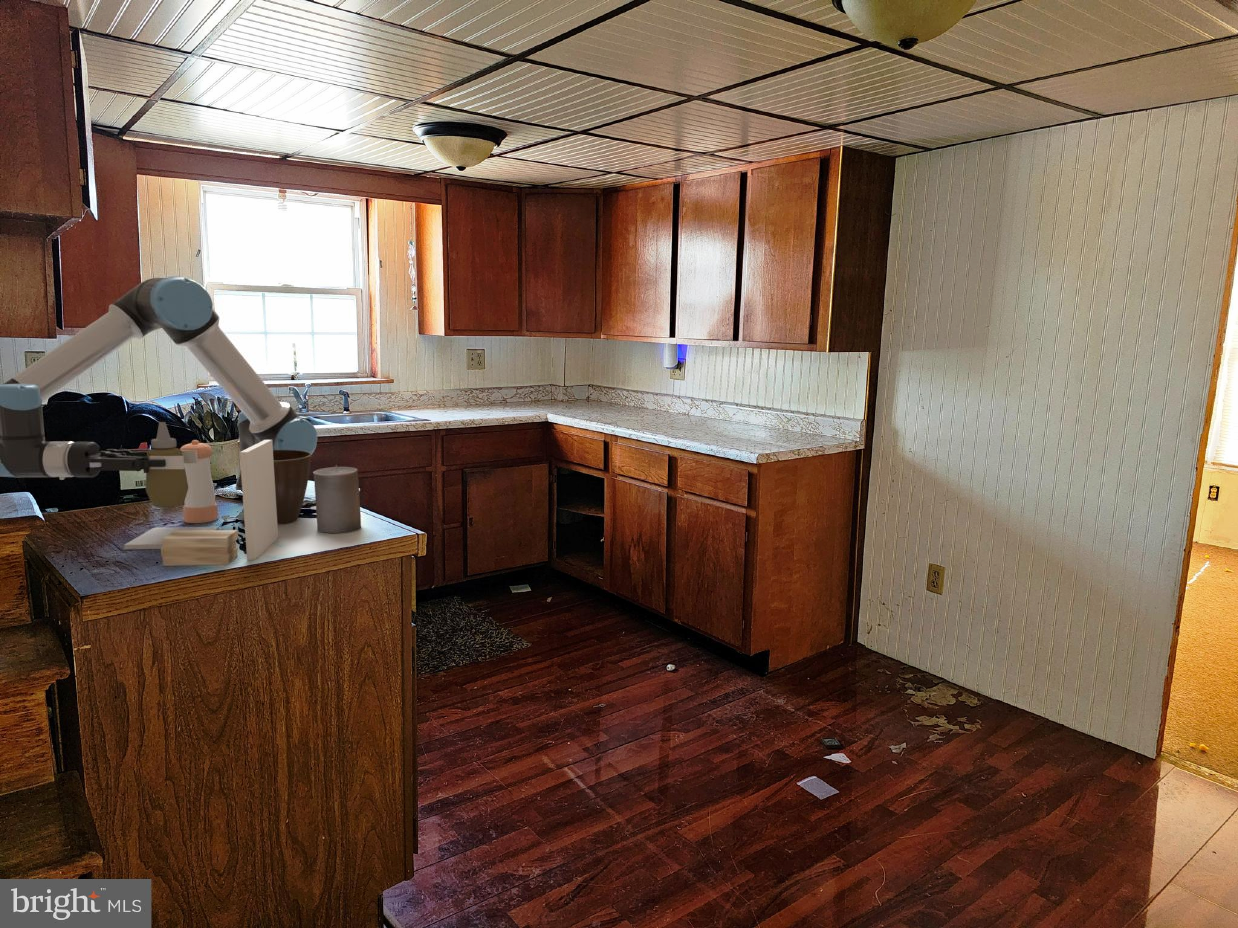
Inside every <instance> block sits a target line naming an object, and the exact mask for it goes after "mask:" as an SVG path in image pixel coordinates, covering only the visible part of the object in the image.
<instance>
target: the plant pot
mask: <svg viewBox="0 0 1238 928" xmlns="http://www.w3.org/2000/svg"><path fill="white" fill-rule="evenodd" d="M273 461H274V477H275V494H276V510H277V525H284V524H285V525H286V524H289V523H294V522H296V521H298V519H299V515H300V513H301V509H302V507H303V503H304V499H305V496H306V492H307V487H308V482H309V477H310V472H311V464H312V463H311V462H312V454H311V453H310V452H307V451H300V450H273Z"/></svg>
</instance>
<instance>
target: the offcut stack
mask: <svg viewBox="0 0 1238 928" xmlns="http://www.w3.org/2000/svg"><path fill="white" fill-rule="evenodd" d="M162 540H163V547H162V548H161V549H160V554H161V555H160V556H161V558H162V565H163V567H164V566H168V567H169V566H171V567H172V566H214V565H215V566H217V565H219V566H220V565H229V564H230V563H231V562H233V560H235V559H236V558H237V557H239V552H238V547H237V543H236V542H237V540H239V531H238V529H231V530H230V529H220V530H176V531H174V532H173V533H171V534H169V535H168V536H166V537H164V538H162Z"/></svg>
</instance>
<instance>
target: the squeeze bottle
mask: <svg viewBox="0 0 1238 928" xmlns="http://www.w3.org/2000/svg"><path fill="white" fill-rule="evenodd" d="M150 443H151V448H152V449H151V448H150V449H151V450H149V451H148V452H147V457H148V459H149V456H183V455H182V451H181V450H180V448H177V439H176V438H174V437H171V435H170V433H169V430H168V426H167V422H166V421H159V422H158V428H157V434H156V438H152V439H151V440H150ZM184 467H185V466H184ZM188 488H189V487H188V482H187V477H186V471H185V469H150V467H149V473H145V492H146V494H147V496H148V498H149V500H150V502H151V505H152V507H153V508H154V507H155V508H161V509H162V508H163V509H167V508H174V507H175V508H176V507H178V506H179V507H180V506H181V505H185V502H184V501H185V498H186V495H187V491H188Z"/></svg>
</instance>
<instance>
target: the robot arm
mask: <svg viewBox="0 0 1238 928" xmlns="http://www.w3.org/2000/svg"><path fill="white" fill-rule="evenodd" d="M213 305H214V304H213V300H212V297H211V295H210V293H209V292H208V290H207V289H206V288H205V287H204V286H203V285H202V284H201V283H199V282H197V281H196V280H193V279H190V278H186V277H183V276H168V277H152V278H148V279H146V280H144V281H142V282H140V283H138V284H137V285H135V286H134V287H133V288H131V289H130V290H128V292H126V293H125V294H124V295H122V296H121V297H120V298H118V299H117V300H116V301H114V302H112V303H110V304H109V306H108V312H107V313H105V314H103V315H102V316H101V317H99V318H98V319H96V320H95V321H93V322H92V323H90V324H89V325H88V326H86V327H84V328H83V329H82V330H80V331H79V332H78V333H76V334H74V335H73V336H71V337H69V338H68V339H67V340H65V341H64V342H62V343H61V344H60V345H58V346H56V347H55V348H53V350H50V352H48V353H46V354H45V355H43V356H41V358H39V359H38V360H36V361H35V362H33V363H31V364H30V365H28V367H26V368H25V369H23V370H22V371H20V372H18V373H17V374H16V375H14V376H13V377H11V378H10V379H9V380H7V381H5V382H4V383H2V384H0V477H3V478H4V477H7V478H16V479H17V478H18V479H20V478H59V480H61V481H62V480H65V479H66V478H73V477H75V478H94V477H96V476H98V475H99V474H100V472H101V471H108V472H109V471H111V472H112V471H115V472H141V471H142V470H143V474H146V473H149V467H150V469H185V467H184V463H198V457H197V451H183V450H181V451H182V455H183V456H149V459H148V457H147V452H148V451H149V450H151V448H149V449H148V448H147V449H146V448H145V449H144V448H141V449H140V448H138V449H136V448H135V449H133V448H132V449H131V448H130V449H127V448H118V449H115V448H107V449H105V450H102V449H101V448H100V446H99V444H97V442H94V441H76V442H75V441H71V440H70V441H69V440H68V441H65V440H63V441H59V440H58V441H57V440H56V441H46V437H45V427H44V415H43V403H44V402H45V401H46V400H48V399H50V398H51V397H52V396H54V395H55V394H57V393H58V392H59V391H61V390H62V389H64V388H65V387H66V386H68V385H69V384H71V383H72V382H74V381H75V380H77V379H78V378H79V377H81V376H82V375H83V374H85V373H87V372H88V371H89V370H90V369H92V368H93V367H95V366H96V365H97V364H99V363H100V362H101V361H103V360H105V359H107V357H109V356H111V354H113V353H114V352H116V351H118V350H119V349H120V348H122V347H123V346H124V345H126V344H127V343H129V342H130V341H131V340H133V339H139V340H141V339H142V338H144V337H146V336H147V335H148V334H150V333H152V332H154V331H156V330H160V329H162V330H163V331H164V332H165V334H167V336H168V337H169V338H170V339H171V340H172V342H173V343H174V344H175V345H177V346H182V347H187V349H188V350H189V351H190V353H191V354H193V356H194V357H195V358H196V360H197V361H198V362H199V363H200V364H201V365H202V367H204V369H205V370H206V371H207V372H208V373H209V375H210V376H211V377H212V379H213V380H214V381H215V382H216V383H217V384H218V385H219V386H220V388H221V389H222V390H223V391H224V392H225V393H226V395H227V396H228V397H229V398H230V399H231V401H232V402H233V403H234V404H235V405H236V407H237V408H238V409H239V410H240V412H239V413H238V416H237V428H238V429H237V430H238V440H239V441H238V442H239V453H240V452H241V451H243V450H245V449H247V448H249V447H251V446H253V445H255V444H257V443H259V442H261V441H264V440H272V445H273V450H300V451H307V452H310V453H311V455H313V453H314V452H315V450H316V448H317V443H318V433H317V429H316V427H315V425H314V424H312V422H310V421H308V420H307V419H305V418H301V417H300V416H299V414H298V413H297V412H296V411H295V410H294V409H293V407H292V406H291V405H290V403H289V402H286V401H285V402H284V401H279V399H278V398H277V397H276V395H275V394H274V393H273V392H272V391H271V390H270V389H269V387H268V386H267V385H266V384H265V382H264V381H263V380H262V378H261V377H260V376H259V374H257V372H256V371H255V370H254V369H253V367H252V366H251V364H250V363H249V362H248V361H247V360H246V359H245V357H244V356H243V355H242V354H241V352H240V351H239V349H237V347H236V346H235V344H233V343H232V341H231V340H230V338H229V337H228V336H227V335H226V334H225V332H224V331H223V330H222V328H221V327H220V326H219V324H220V316H219V314H218V313H217V312H216V311H215V309H214V307H213ZM236 479H237V480H236V483H235V491H236V490H241V491H242V478H241V467H240V469H239V473H238V476H237V478H236Z"/></svg>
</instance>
